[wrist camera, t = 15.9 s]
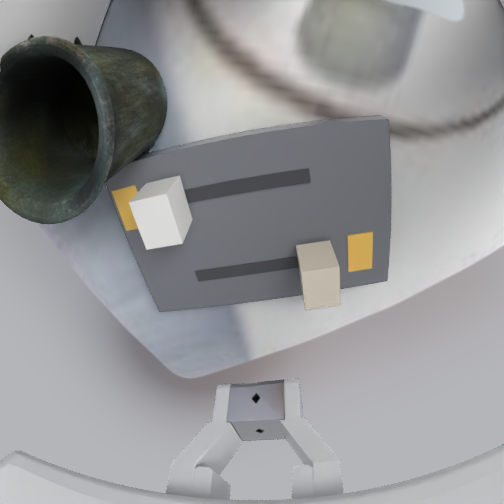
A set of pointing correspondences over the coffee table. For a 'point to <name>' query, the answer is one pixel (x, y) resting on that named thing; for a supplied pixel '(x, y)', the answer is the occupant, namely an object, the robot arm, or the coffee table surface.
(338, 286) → the sand slider
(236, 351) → the coffee table surface
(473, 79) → the coffee table surface
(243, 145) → the switch panel
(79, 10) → the milk carton
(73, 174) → the mug
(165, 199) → the off white slider
